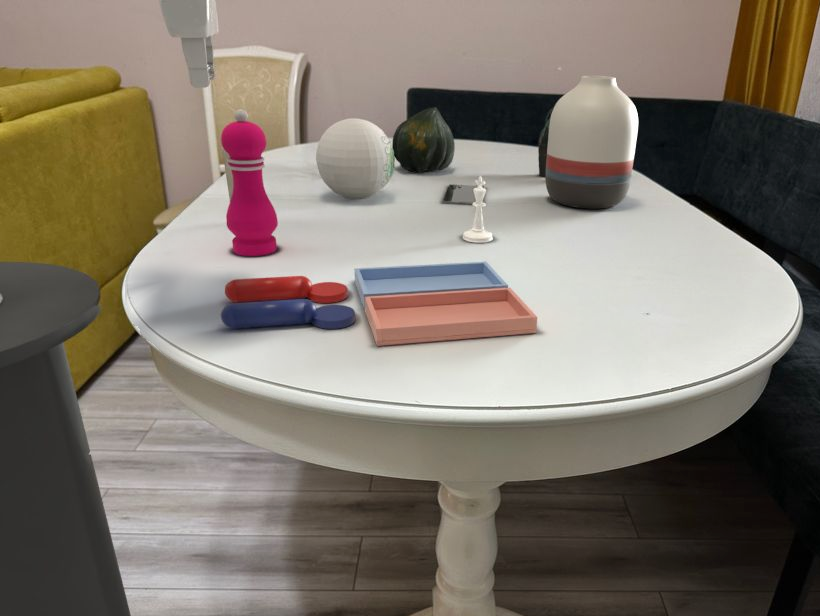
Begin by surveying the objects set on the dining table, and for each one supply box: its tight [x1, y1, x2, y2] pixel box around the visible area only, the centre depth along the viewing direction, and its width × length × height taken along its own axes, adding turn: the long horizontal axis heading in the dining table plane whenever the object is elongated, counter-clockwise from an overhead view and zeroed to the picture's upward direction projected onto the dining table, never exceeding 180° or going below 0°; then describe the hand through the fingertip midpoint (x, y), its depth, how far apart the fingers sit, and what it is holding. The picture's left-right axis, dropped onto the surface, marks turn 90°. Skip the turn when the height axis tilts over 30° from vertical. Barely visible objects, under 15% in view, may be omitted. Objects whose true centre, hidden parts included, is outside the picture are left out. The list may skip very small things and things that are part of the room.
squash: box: [391, 107, 456, 173], centre depth 159 cm, size 14×15×15 cm
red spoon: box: [224, 275, 349, 304], centre depth 83 cm, size 15×5×3 cm, turn 105°
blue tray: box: [353, 261, 509, 311], centre depth 87 cm, size 18×10×2 cm, turn 105°
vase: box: [545, 75, 639, 210], centre depth 132 cm, size 17×17×24 cm
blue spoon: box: [220, 298, 356, 330], centre depth 76 cm, size 15×5×3 cm, turn 105°
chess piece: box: [462, 176, 494, 244], centre depth 108 cm, size 5×5×10 cm
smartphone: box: [442, 183, 485, 205], centre depth 139 cm, size 8×1×16 cm
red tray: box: [364, 287, 538, 347], centre depth 78 cm, size 18×10×2 cm, turn 105°
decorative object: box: [315, 117, 396, 200], centre depth 130 cm, size 15×15×15 cm
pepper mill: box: [220, 108, 279, 257], centre depth 97 cm, size 7×7×20 cm
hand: (204, 83), depth 73 cm, fingers open, 8 cm apart
